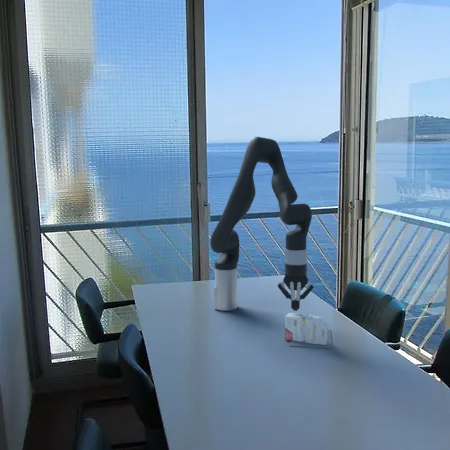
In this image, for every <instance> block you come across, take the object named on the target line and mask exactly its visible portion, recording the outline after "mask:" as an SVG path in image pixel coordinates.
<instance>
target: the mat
mask: <svg viewBox="0 0 450 450" xmlns="http://www.w3.org/2000/svg"><path fill="white" fill-rule="evenodd" d="M324 334H325V333H324V329H322V337H324ZM289 347H295V348H296V347H297V348H311V349H329V350H332V349H333V339H332V330H331V329H327V345H322V344H311V343H305V342H299V341H293V340H289Z"/></svg>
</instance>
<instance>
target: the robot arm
mask: <svg viewBox="0 0 450 450" xmlns="http://www.w3.org/2000/svg"><path fill="white" fill-rule="evenodd" d="M258 163H262V164H268V166H270V167H269V168H271V170H272V176H271V189H272V191H273V193H274V196H275V197H276V200H277V202H278V208H279V213H280V214H279V215H280V219H281V221H282V222H283V223H284V225H286V226H296V227H295V228H294V229H292V230H291V231H288V232H286V235H285V251H284V277H283V280H282V281H281V282H278V284H277V288H278V289H279V290H280V292H281V293H282V294H283V295H284V297H285V298H286V299H289V300H290V301H291V302H290V303H291V305H290V307H291V310H292V311H293V312H297V311H298V310H299V309H300V302H301V300H304V299H306V298H307V296H309V294H310V293H311V291H312V290H314V287H315V286H314V284H313V283H311V282H310V281H309V278H308V276H307V275H308V274H307V272H308V270H307V269H308V254H307V252H308V251H307V237H308V233H309V228H310V226H311V221H312V217H313V213H312V208H311V207H310V205H309V204H307V203H295V202H296V201H297V199H298V194H297V191H296V189H295V187H294V185H293V183H292V181H291V179H290V177H289V174H288V172H287V169H286V165H285V162H284V159H283V154H282V151H281V149H280V145H279V144H278V142H277V141H276V140H275V139H272V138H266V137H261V136H254V137H252V138H251V139H250V141H248V144H247V146H246V150H245V153H244V156H243V159H242V162H241V166H240V169H239V172H238V176H237V178H236V180H235V183H234V185H233V187H232V189H231V192H230V194H229V197H228V201H227V203H226V205H225V206H224V209H223V212H222V214H221V216H220V218H219V221H218V222H217V224H216V226H215V228H214V230H213V232H212V234H211V236H210V237H211V238H210V241H209V243H210V248H211V250H212V251H213V252H214V253H217V254H220V256H219V258H217V260H215V262H214V287H213V293H214V298H213V299H214V300H213V301H214V303H213V304H214V310H218V311H222V312H224V311H225V312H227V311H235V310H237V308H238V263H239V259H240V237H239V234H238V232H237V231H236V230H234V228H235V227H236V226H237V224H238V223H239V222H240V221H241V220H242V219H243V218H244V216H245V215H247V213H248V212H249V210H250V209H251V207H252V204H253V202H254V200H255V197H256V185H255V179H254V173H255V169H256V167H257V164H258ZM286 287H287V289H289V290H290V293H289V291H288V290H287V289H286ZM305 287H306V289H305V291H303V290H304V288H305ZM301 291H303V292H302V294H301ZM295 293H296V294H295Z"/></svg>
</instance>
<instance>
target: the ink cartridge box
mask: <svg viewBox="0 0 450 450" xmlns="http://www.w3.org/2000/svg"><path fill="white" fill-rule="evenodd" d="M322 320H323V319H322V316H319V315H313V314H305V313H304V314H303V313H298V312H297V313H296V312H288V313H287V314H286V315H285V319H284V321H285V322H284V324H285V325H284V331H285V332H284V339H285V340H286V341H287V340H288V341H290V340H293V341H299V342H305V343H311V344H322V345H327V330H328V325H329V323H328V322H327V321H322ZM322 330H324V333H325V334H324V337H322Z"/></svg>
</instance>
